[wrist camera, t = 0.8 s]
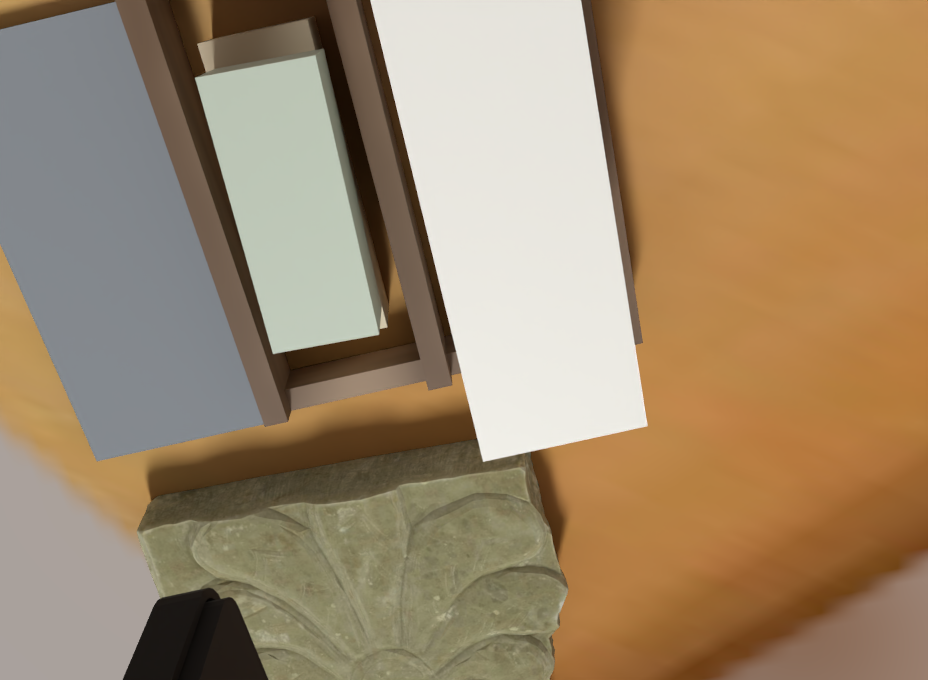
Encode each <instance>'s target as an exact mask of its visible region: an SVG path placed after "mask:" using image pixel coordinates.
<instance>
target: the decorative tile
mask: <svg viewBox="0 0 928 680" xmlns="http://www.w3.org/2000/svg"><path fill="white" fill-rule="evenodd" d="M137 534H138V538H139V542H140V545H141V547H142V550H143V553H144V556H145V558H146V561H147V564H148V567H149V569H150V572H151V575H152V578H153V580H154V583H155V585H156V588H157V590H158V593H159V595H160V598H162V597H167V596H172V595H176V594H181V593H186V592H191V591H195V590H200V589H205V588H212V589H214V590H215V591H216V592H217V593H218V594H219V596H220V598H221V599H222V598H227V597H231V598H233V599H234V600H235V601H236V603H237V605H238V607H239V609H240V612H241V614H242V617H243V619H244V621H245V624H246V626H247V629H248V631H249V633H250V636H251V638H252V641H253V643H254V646H255V648H256V650H257V653H258V655H259V658H260V660H261V663H262V665H263V667H264V670H265V672H266V675H267V677H268V680H550V676H551V674H552V672H553V670H554V663H555V658H554V652H555V649H554V646H553V639H552V634H553V633H554V632H555V631H556V629H558V628H559V626H560V619H559V613H560V611H561V608H562V606H563V603H564V601H565V598H566V596H567V593H568V585H567V582H566V579H565V576H564V574H563V572H562V570H561V569H560V566H559V562H558V559H557V555H556V552H555V549H554V545H553V540H552V532H551V529H550V526H549V522H548V521H547V519H546V518H545V515H544V508H543V505H542V503H541V495H540V492H539V484H538V481H537V479H536V476H535V473H534V470H533V463H532V461H531V452H526V453H522V454H517V455H513V456H508V457H503V458H499V459H494V460H490V461H485V462H483V459H482V455H481V451H480V447H479V443H478V439H475V440H468V441H462V442H456V443H450V444H444V445H438V446H432V447H427V448H420V449H414V450H408V451H402V452H396V453H390V454H384V455H378V456H372V457H367V458H361V459H356V460H351V461H345V462H340V463H335V464H330V465H324V466H319V467H313V468H308V469H302V470H296V471H291V472H285V473H279V474H273V475H268V476H262V477H256V478H251V479H246V480H241V481H236V482H231V483H226V484H221V485H215V486H210V487H205V488H199V489H193V490H188V491H182V492H177V493H171V494H166V495H160V496H157V497H156V498H155V499H154V500H153V501H152V502H150V503H149V504H148V506H147V510H146V512H145V514H144V516H143V518H142V520H141V523H140V525H139V527H138V529H137Z"/></svg>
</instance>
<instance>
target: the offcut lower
mask: <svg viewBox="0 0 928 680" xmlns="http://www.w3.org/2000/svg"><path fill="white" fill-rule="evenodd" d="M197 45H198V48H199V51H200V55H201V58H202V61H203V64H204V67H205V71H206V73H207V72H209V71H211V70H213V69H217V68H222V67H228V66H233V65H238V64H244V63H249V62H254V61H260V60H265V59H270V58H276V57H281V56H286V55H292V54H297V53H302V52H308V51H313V50H318V49H323V46H322V43H321V39H320V35H319V31H318V27H317V23H316V19H315V16H312V17H308V18H303V19H299V20H294V21H290V22H286V23H281V24H277V25H272V26H268V27H263V28H259V29H254V30H250V31H245V32H241V33H236V34H232V35H227V36H223V37H219V38H214V39H211V40H207V41H204V42H201V43H198V44H197ZM331 82H332V81H331ZM332 87H333V85H332ZM333 91H334V89H333ZM334 96H335V93H334ZM335 100H336V97H335ZM336 105H337V101H336ZM337 109H338V105H337ZM338 113H339V109H338ZM339 118H340V122H341V127H342V131H343V136H344V140H345V145H346V149H347V154H348V158H349V163H350V167H351V171H352V176H353V180H354V185H355V189H356V194H357V198H358V203H359V207H360V212H361V216H362V220H363V225H364V229H365V234H366V238H367V243H368V247H369V252H370V256H371V261H372V265H373V270H374V274H375V278H376V283H377V287H378V292H379V296H380V301H381V305H382V310H381V321H380V329H382V328H387V327H388V312H389V304H388V300H387V296H386V292H385V288H384V284H383V280H382V276H381V272H380V269H379V265H378V261H377V257H376V253H375V249H374V245H373V241H372V237H371V233H370V230H369V226H368V222H367V218H366V214H365V210H364V206H363V202H362V198H361V194H360V191H359V187H358V183H357V179H356V175H355V171H354V167H353V163H352V159H351V156H350V152H349V148H348V144H347V140H346V136H345V132H344V128H343V124H342V120H341V117H340V113H339Z"/></svg>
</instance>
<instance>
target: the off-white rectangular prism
mask: <svg viewBox="0 0 928 680" xmlns="http://www.w3.org/2000/svg"><path fill="white" fill-rule="evenodd" d="M370 1H371V5H372V9H373V13H374V18H375V22H376V26H377V30H378V34H379V38H380V42H381V46H382V50H383V54H384V58H385V63H386V67H387V71H388V75H389V79H390V83H391V87H392V91H393V95H394V99H395V103H396V108H397V112H398V116H399V120H400V124H401V128H402V132H403V136H404V140H405V144H406V148H407V153H408V157H409V161H410V165H411V169H412V173H413V177H414V181H415V185H416V189H417V193H418V198H419V202H420V206H421V210H422V214H423V218H424V222H425V226H426V230H427V234H428V238H429V243H430V247H431V251H432V255H433V259H434V263H435V267H436V271H437V275H438V279H439V283H440V288H441V292H442V296H443V300H444V304H445V308H446V312H447V316H448V320H449V324H450V328H451V333H452V337H453V341H454V345H455V349H456V353H457V357H458V361H459V365H460V369H461V373H462V378H463V382H464V386H465V390H466V394H467V398H468V402H469V406H470V410H471V414H472V419H473V423H474V427H475V431H476V435H477V439H478V443H479V447H480V451H481V455H482V459H483V462H485V461H490V460H494V459H499V458H503V457H508V456H513V455H517V454H522V453H526V452H531V451H536V450H540V449H545V448H549V447H554V446H558V445H563V444H568V443H572V442H577V441H581V440H586V439H591V438H595V437H600V436H604V435H609V434H613V433H618V432H623V431H627V430H632V429H636V428H641V427H646V426H647V420H646V413H645V407H644V400H643V394H642V388H641V381H640V375H639V368H638V362H637V356H636V349H635V343H634V336H633V330H632V323H631V317H630V311H629V304H628V298H627V291H626V285H625V279H624V272H623V266H622V259H621V253H620V247H619V240H618V234H617V227H616V221H615V215H614V208H613V202H612V195H611V189H610V183H609V176H608V170H607V163H606V157H605V151H604V144H603V138H602V131H601V125H600V118H599V112H598V106H597V99H596V93H595V86H594V80H593V74H592V67H591V61H590V54H589V48H588V42H587V35H586V29H585V22H584V16H583V10H582V3H581V0H370Z"/></svg>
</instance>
